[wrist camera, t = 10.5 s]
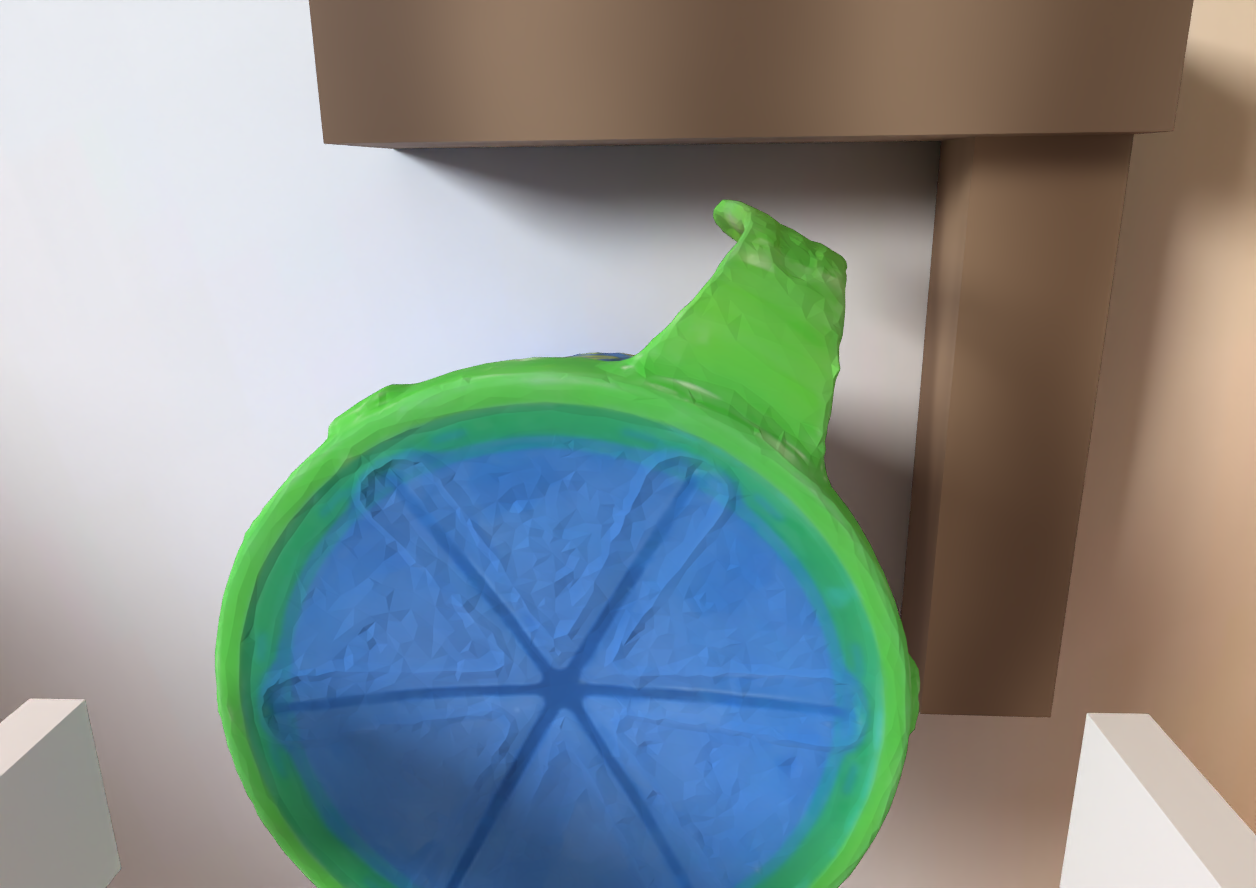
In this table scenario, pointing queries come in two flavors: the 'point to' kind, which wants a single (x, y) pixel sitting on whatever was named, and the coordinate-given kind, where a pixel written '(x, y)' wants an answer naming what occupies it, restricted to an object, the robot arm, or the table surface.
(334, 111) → the bracket
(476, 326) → the table surface
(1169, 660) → the table surface
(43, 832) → the robot arm
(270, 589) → the snack cup
